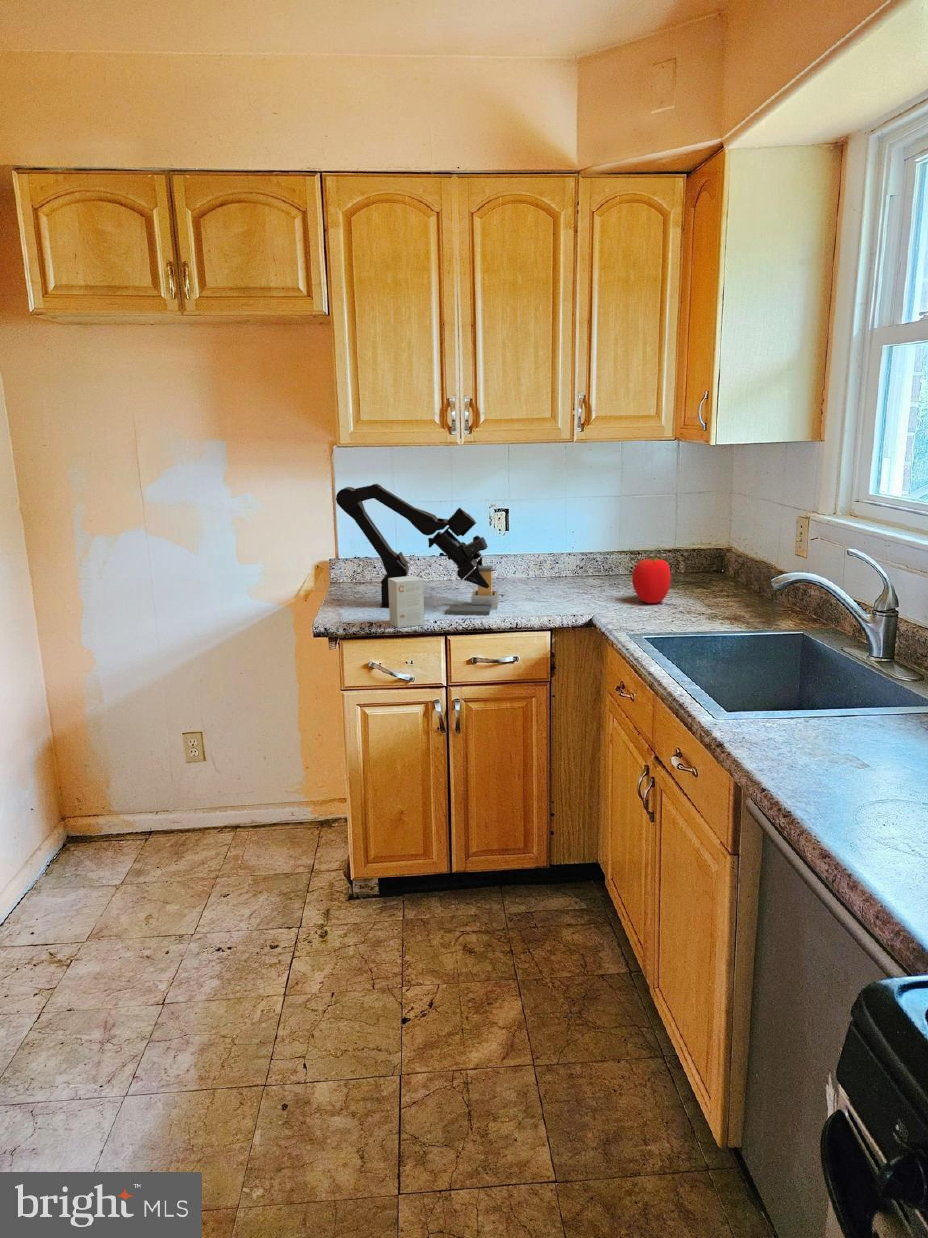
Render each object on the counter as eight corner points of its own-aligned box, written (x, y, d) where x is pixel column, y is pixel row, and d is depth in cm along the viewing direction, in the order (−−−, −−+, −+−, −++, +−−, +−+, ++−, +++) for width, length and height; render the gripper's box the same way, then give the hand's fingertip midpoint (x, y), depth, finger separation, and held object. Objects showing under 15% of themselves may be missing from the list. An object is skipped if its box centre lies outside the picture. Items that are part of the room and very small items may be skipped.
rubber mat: (447, 614, 242) (447, 610, 242) (450, 609, 248) (450, 605, 248) (489, 615, 241) (489, 611, 241) (490, 609, 247) (490, 606, 247)
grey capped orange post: (477, 607, 250) (477, 568, 247) (478, 604, 254) (478, 565, 251) (491, 607, 250) (491, 568, 247) (492, 604, 254) (492, 565, 251)
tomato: (663, 608, 248) (666, 561, 244) (626, 604, 253) (628, 558, 249) (674, 599, 259) (676, 554, 255) (638, 596, 264) (640, 551, 260)
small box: (416, 620, 236) (415, 574, 233) (424, 625, 231) (423, 579, 228) (389, 623, 233) (387, 577, 230) (396, 628, 227) (395, 581, 224)
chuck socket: (471, 608, 249) (471, 595, 248) (473, 602, 256) (473, 590, 255) (496, 609, 248) (496, 596, 247) (498, 603, 255) (498, 590, 254)
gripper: (468, 533, 238) (506, 571, 239) (474, 523, 256) (510, 559, 257) (441, 560, 240) (479, 598, 242) (448, 549, 258) (484, 584, 260)
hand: (489, 584), depth 250 cm, fingers open, 9 cm apart
